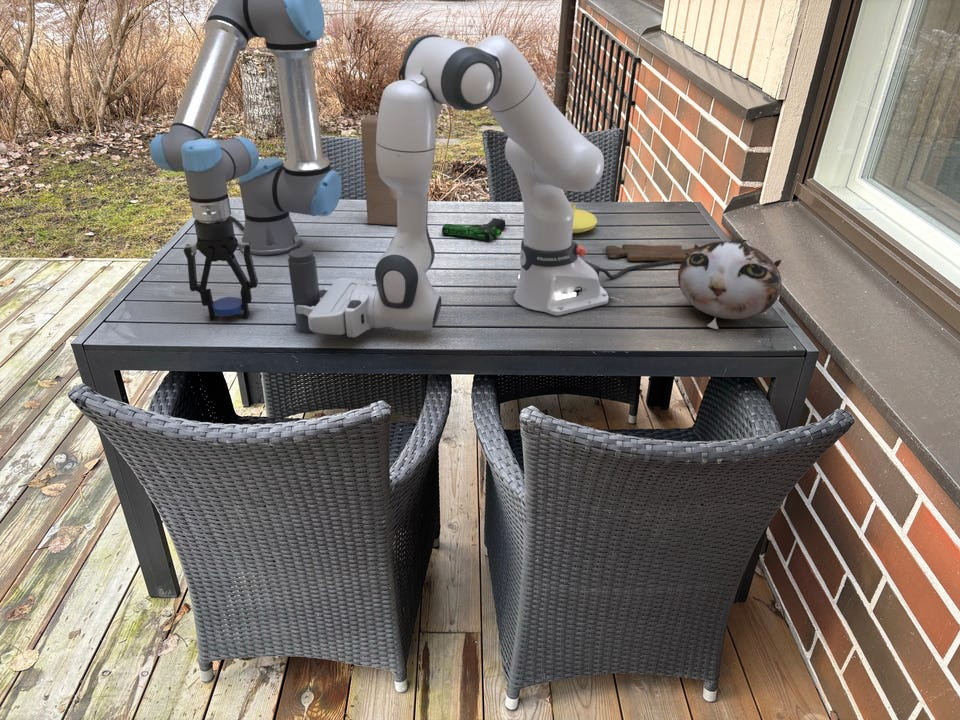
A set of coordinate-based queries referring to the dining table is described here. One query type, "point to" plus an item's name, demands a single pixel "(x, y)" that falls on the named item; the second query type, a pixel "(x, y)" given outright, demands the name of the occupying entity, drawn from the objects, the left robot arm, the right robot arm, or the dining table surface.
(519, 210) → the dining table surface
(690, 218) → the dining table surface
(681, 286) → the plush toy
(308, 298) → the jar
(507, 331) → the dining table surface
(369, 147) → the decorative block
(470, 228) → the handgun
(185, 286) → the dining table surface
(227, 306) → the lid
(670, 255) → the brown notched plank
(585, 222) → the yellow thick rounded disc
